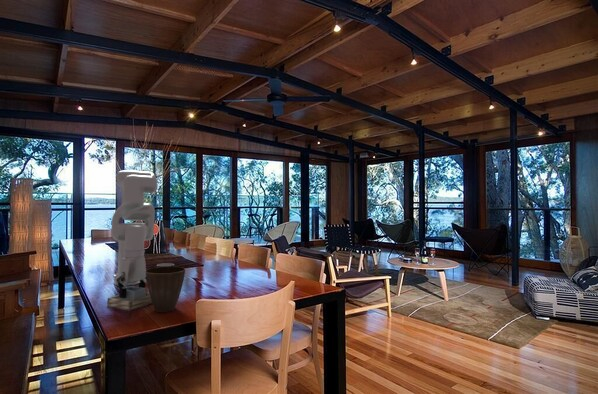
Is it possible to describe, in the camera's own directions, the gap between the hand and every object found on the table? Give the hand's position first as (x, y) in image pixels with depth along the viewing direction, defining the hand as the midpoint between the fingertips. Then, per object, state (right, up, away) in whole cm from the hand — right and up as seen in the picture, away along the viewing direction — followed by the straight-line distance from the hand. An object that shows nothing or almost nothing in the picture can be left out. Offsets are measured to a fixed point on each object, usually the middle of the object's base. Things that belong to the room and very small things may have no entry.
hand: (132, 295), depth 141 cm
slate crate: (0, -3, 0) cm, 3 cm away
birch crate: (0, -4, 0) cm, 4 cm away
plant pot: (+16, -4, -6) cm, 17 cm away
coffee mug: (-3, -5, +37) cm, 38 cm away
